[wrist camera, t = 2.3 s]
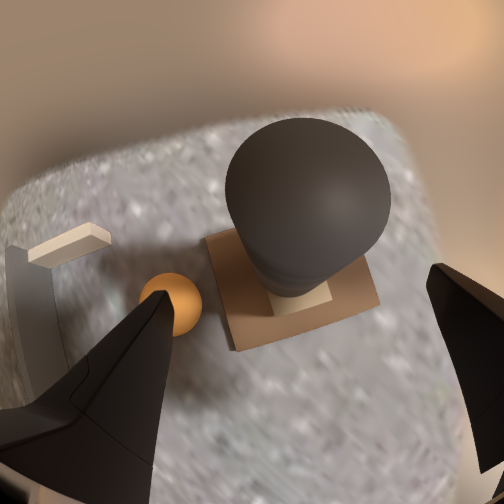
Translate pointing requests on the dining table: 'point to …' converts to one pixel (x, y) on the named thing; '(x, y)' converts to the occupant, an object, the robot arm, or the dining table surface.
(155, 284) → the ball
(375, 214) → the ball
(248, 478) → the dining table surface
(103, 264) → the dining table surface
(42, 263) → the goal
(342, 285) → the brown rectangular plate
